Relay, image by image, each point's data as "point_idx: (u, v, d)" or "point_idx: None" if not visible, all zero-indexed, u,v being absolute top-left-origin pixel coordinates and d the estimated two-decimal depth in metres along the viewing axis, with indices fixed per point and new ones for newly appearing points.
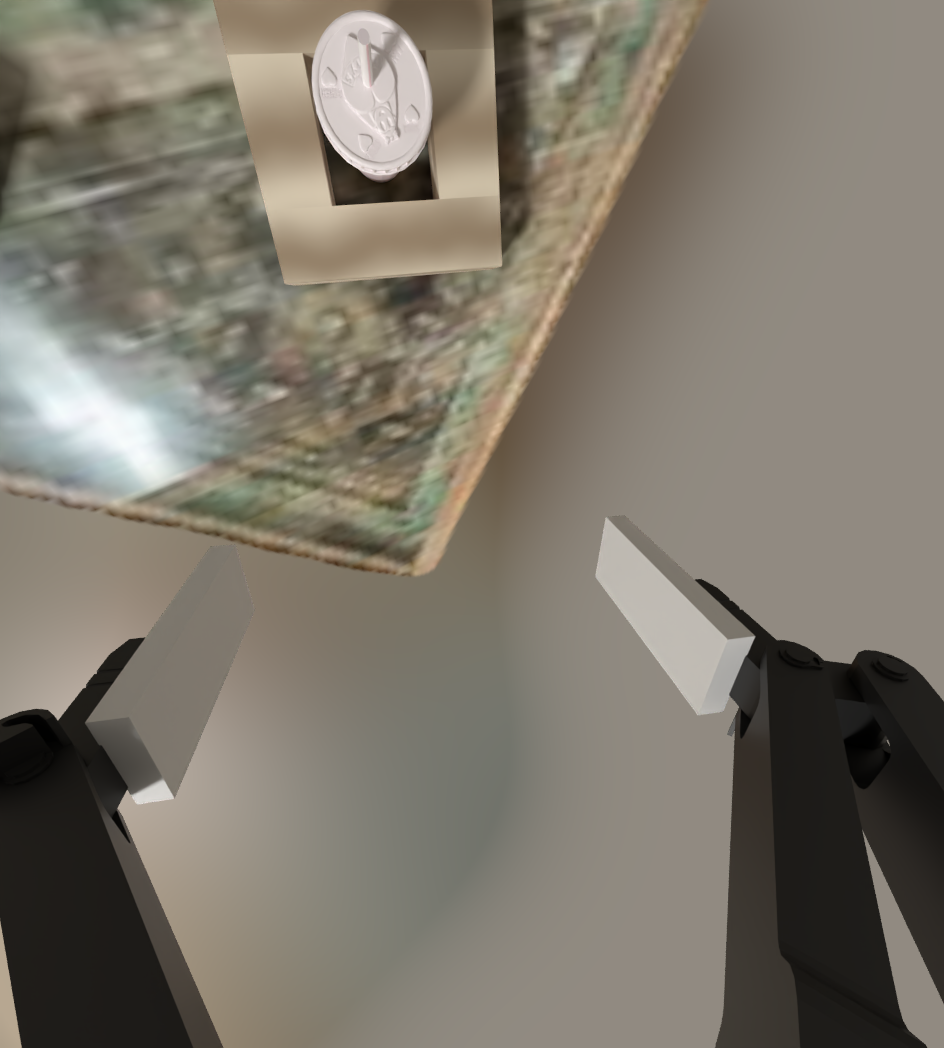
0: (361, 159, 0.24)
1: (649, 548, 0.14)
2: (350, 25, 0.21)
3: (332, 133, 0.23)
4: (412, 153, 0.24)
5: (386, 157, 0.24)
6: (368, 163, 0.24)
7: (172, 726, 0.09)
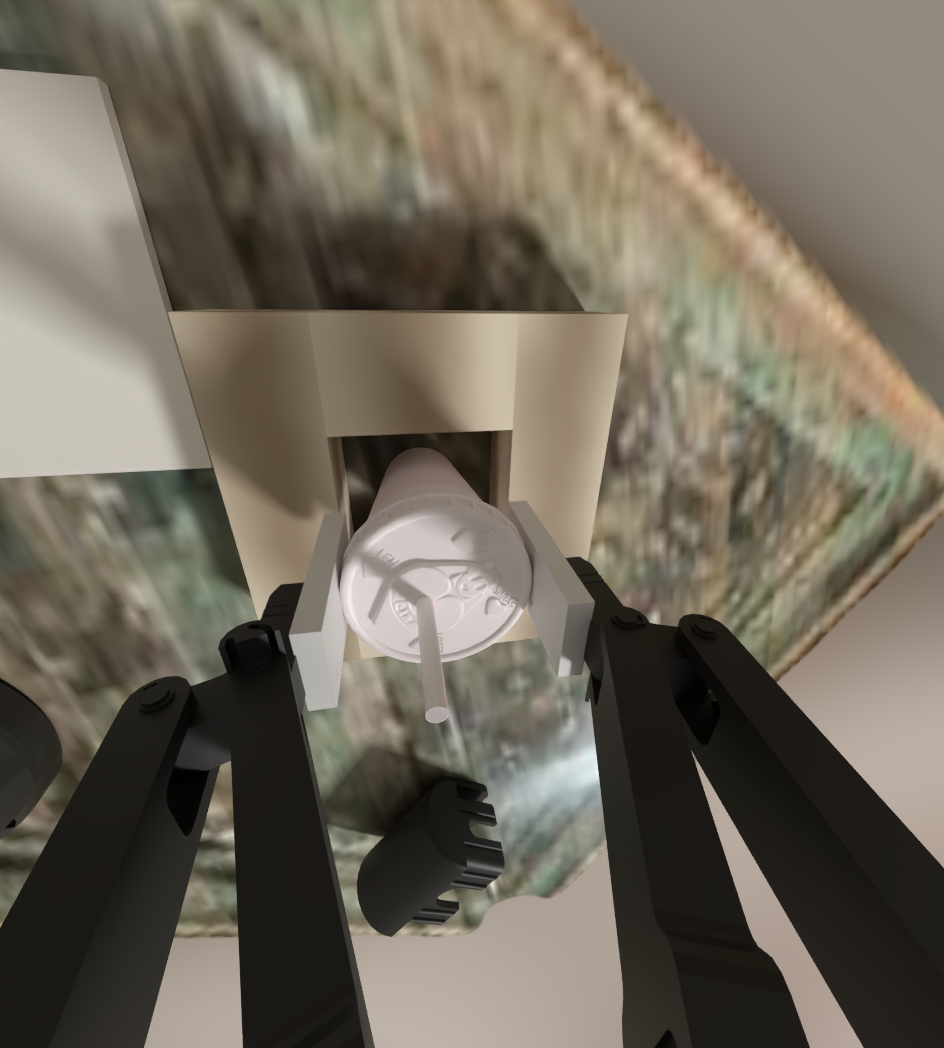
0: (514, 611, 0.15)
1: (535, 528, 0.15)
2: (360, 617, 0.14)
3: (482, 645, 0.15)
4: (517, 542, 0.13)
5: (516, 579, 0.14)
6: (520, 603, 0.15)
7: (333, 649, 0.12)
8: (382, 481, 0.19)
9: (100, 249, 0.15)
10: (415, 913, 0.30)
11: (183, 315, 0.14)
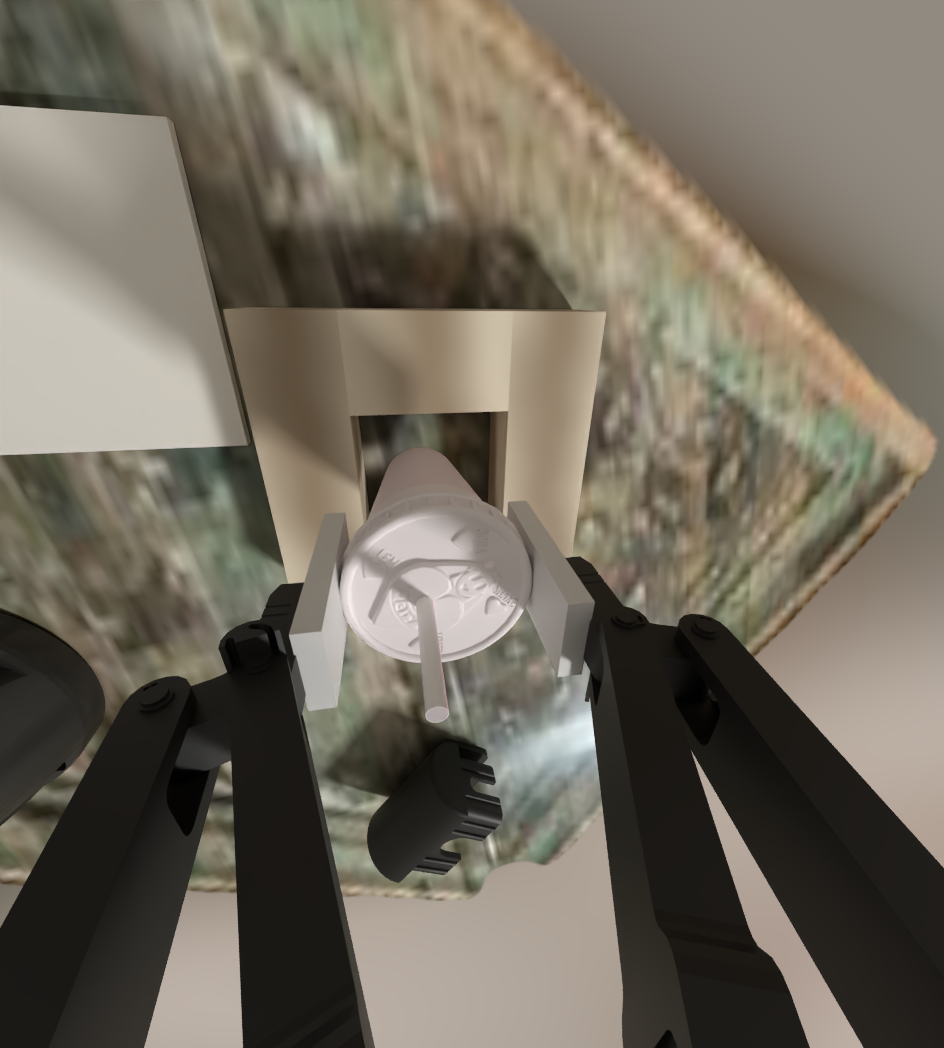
0: (514, 611, 0.15)
1: (535, 528, 0.15)
2: (360, 617, 0.14)
3: (482, 645, 0.15)
4: (517, 542, 0.13)
5: (516, 579, 0.14)
6: (520, 602, 0.15)
7: (333, 649, 0.12)
8: (382, 481, 0.19)
9: (162, 257, 0.18)
10: (421, 859, 0.33)
11: (235, 312, 0.17)
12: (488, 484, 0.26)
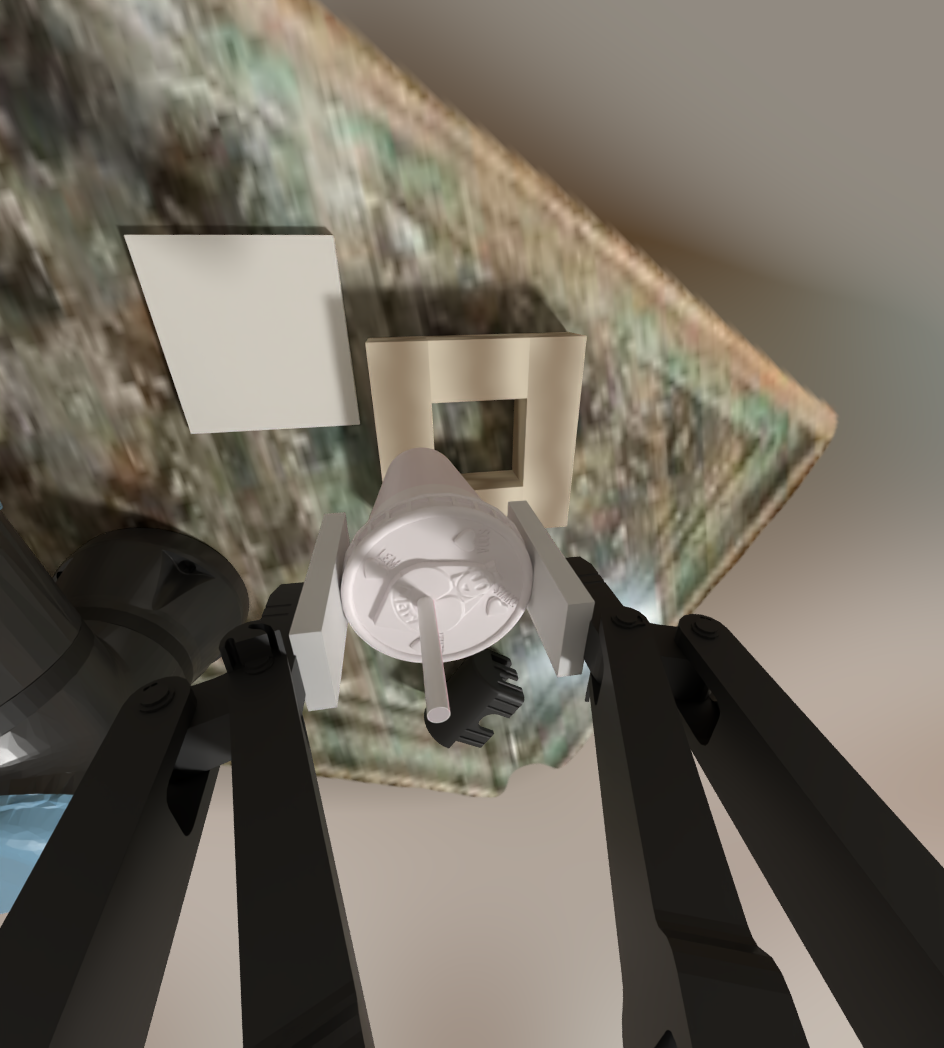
0: (515, 611, 0.15)
1: (535, 528, 0.15)
2: (361, 617, 0.14)
3: (483, 645, 0.15)
4: (518, 543, 0.13)
5: (517, 579, 0.14)
6: (521, 603, 0.15)
7: (333, 649, 0.12)
8: (383, 481, 0.19)
9: (322, 311, 0.31)
10: (465, 728, 0.46)
11: (371, 344, 0.29)
12: None
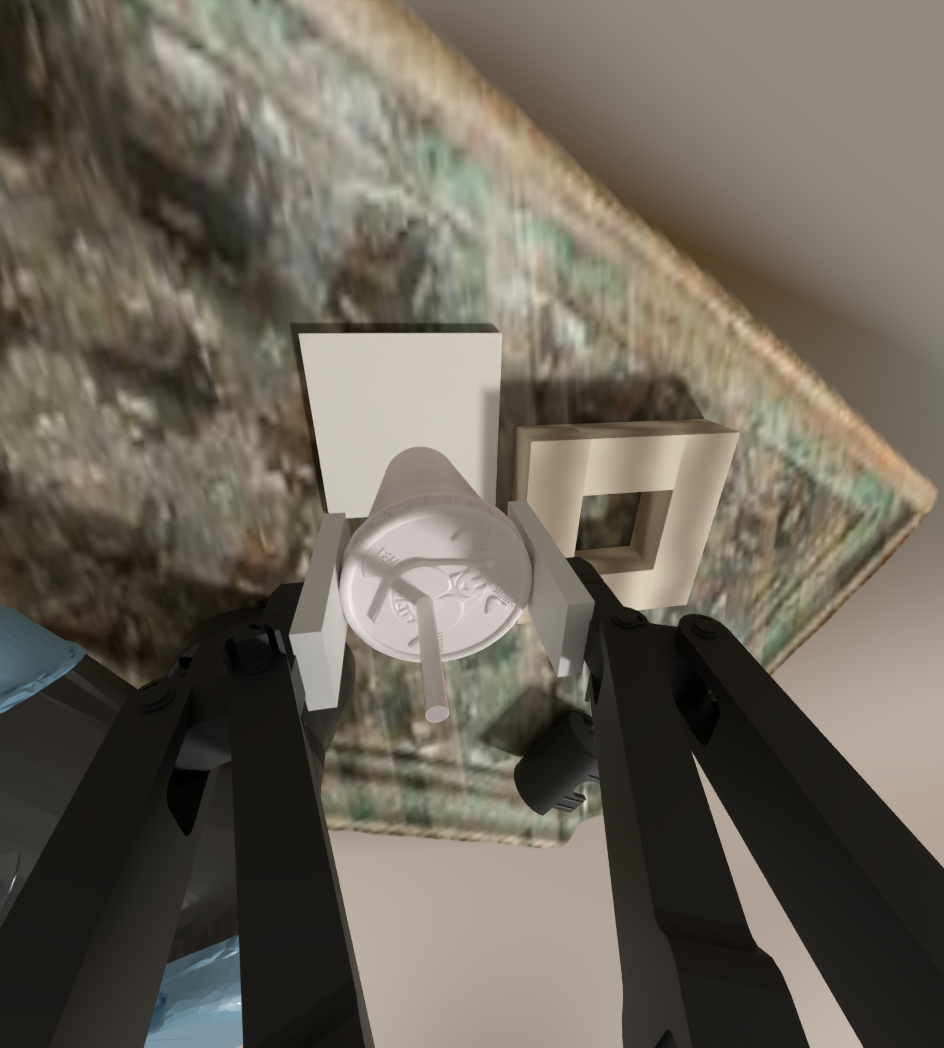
0: (514, 611, 0.15)
1: (535, 528, 0.15)
2: (360, 616, 0.14)
3: (482, 644, 0.15)
4: (517, 541, 0.13)
5: (516, 578, 0.14)
6: (521, 602, 0.15)
7: (333, 649, 0.12)
8: (382, 480, 0.19)
9: (478, 403, 0.30)
10: (562, 796, 0.45)
11: (537, 443, 0.29)
12: None
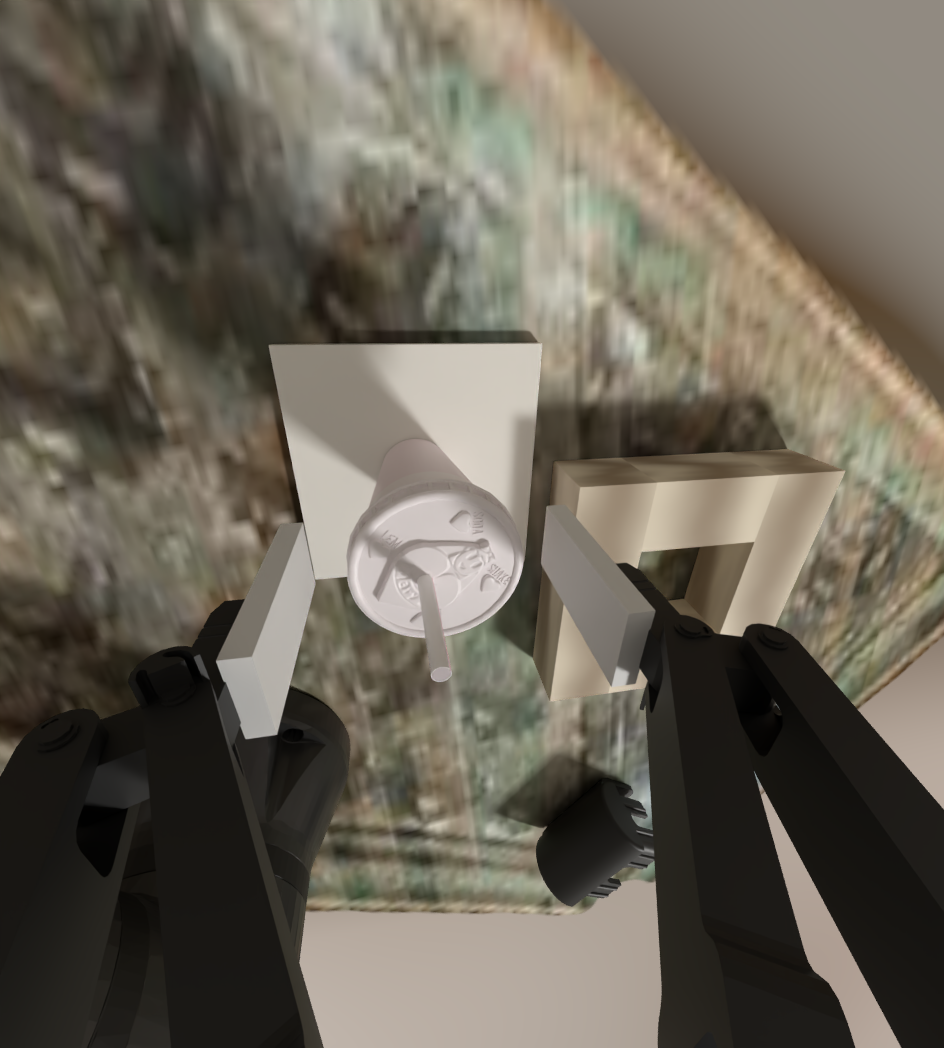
0: (507, 588, 0.16)
1: (579, 534, 0.15)
2: (365, 594, 0.15)
3: (477, 620, 0.16)
4: (509, 524, 0.15)
5: (509, 558, 0.15)
6: (512, 580, 0.16)
7: (273, 672, 0.11)
8: (380, 470, 0.20)
9: (508, 434, 0.23)
10: (596, 887, 0.38)
11: (588, 488, 0.22)
12: (690, 578, 0.32)
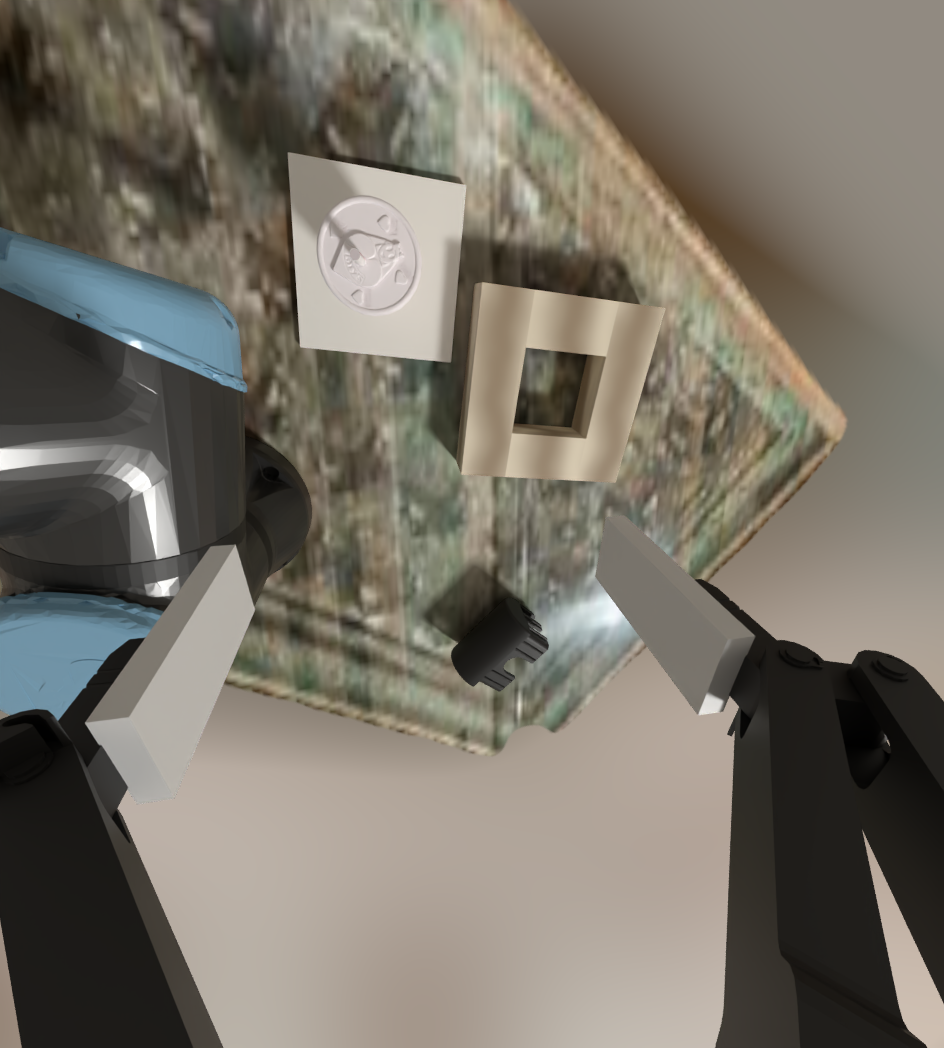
0: (411, 285, 0.27)
1: (649, 548, 0.14)
2: (326, 265, 0.26)
3: (393, 307, 0.27)
4: (412, 231, 0.26)
5: (412, 260, 0.26)
6: (415, 279, 0.27)
7: (172, 726, 0.09)
8: None
9: (441, 251, 0.35)
10: (493, 667, 0.49)
11: (487, 284, 0.33)
12: (575, 409, 0.43)
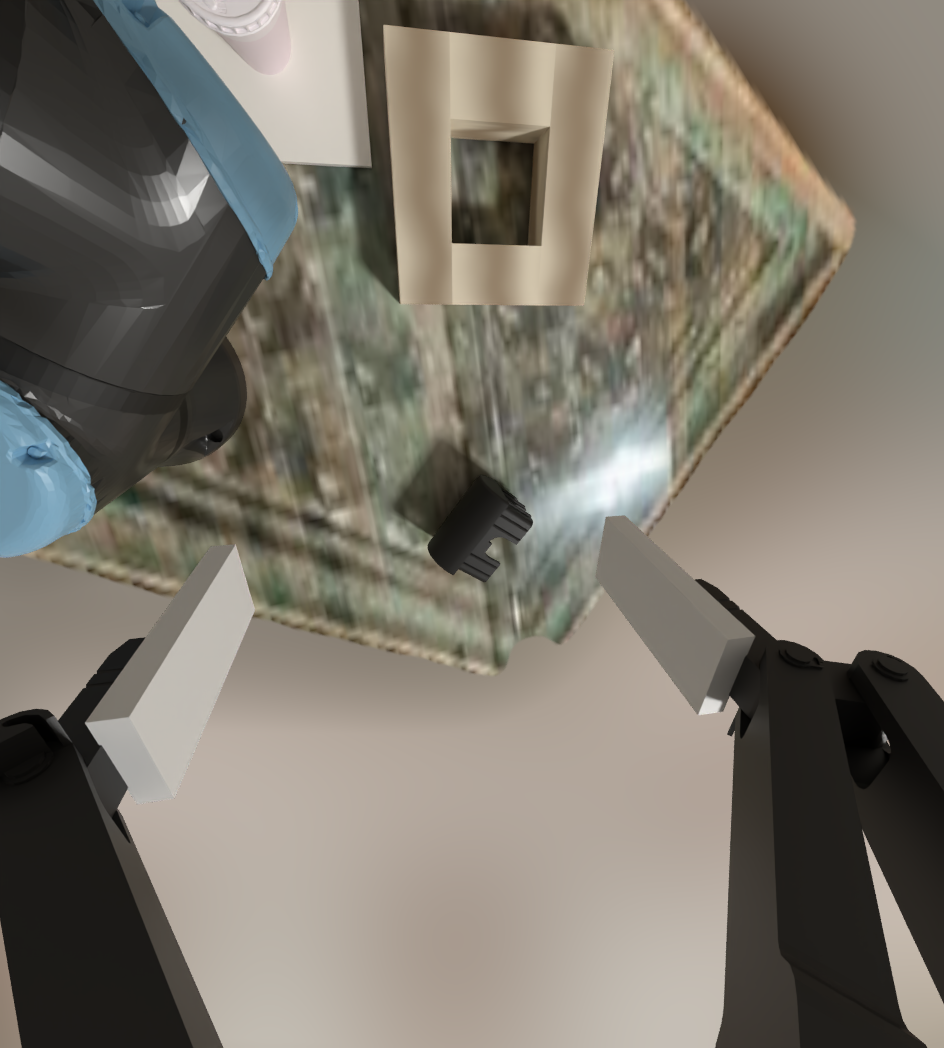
0: None
1: (649, 548, 0.14)
2: None
3: (255, 11, 0.22)
4: None
5: None
6: None
7: (172, 726, 0.09)
8: None
9: (336, 7, 0.29)
10: (472, 549, 0.44)
11: (390, 27, 0.27)
12: (529, 224, 0.37)
